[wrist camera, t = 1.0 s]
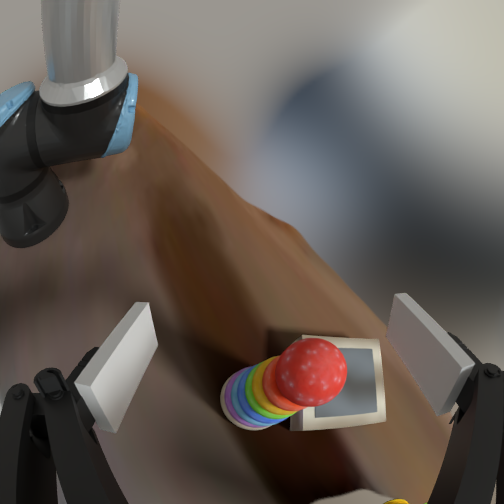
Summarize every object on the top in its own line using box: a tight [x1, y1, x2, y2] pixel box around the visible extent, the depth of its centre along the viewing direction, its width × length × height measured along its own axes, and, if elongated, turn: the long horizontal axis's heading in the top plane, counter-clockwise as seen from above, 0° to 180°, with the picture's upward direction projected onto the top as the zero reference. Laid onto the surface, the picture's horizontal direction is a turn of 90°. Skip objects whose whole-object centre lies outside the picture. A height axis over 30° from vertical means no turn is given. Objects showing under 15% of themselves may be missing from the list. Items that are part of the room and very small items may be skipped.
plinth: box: [290, 335, 386, 431], centre depth 32 cm, size 12×12×4 cm
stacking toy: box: [220, 338, 347, 430], centre depth 23 cm, size 8×8×19 cm
